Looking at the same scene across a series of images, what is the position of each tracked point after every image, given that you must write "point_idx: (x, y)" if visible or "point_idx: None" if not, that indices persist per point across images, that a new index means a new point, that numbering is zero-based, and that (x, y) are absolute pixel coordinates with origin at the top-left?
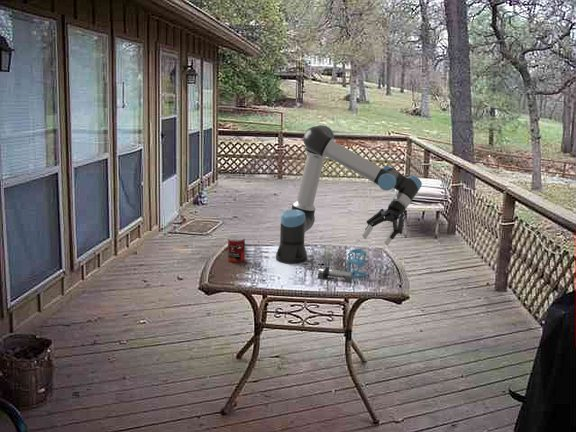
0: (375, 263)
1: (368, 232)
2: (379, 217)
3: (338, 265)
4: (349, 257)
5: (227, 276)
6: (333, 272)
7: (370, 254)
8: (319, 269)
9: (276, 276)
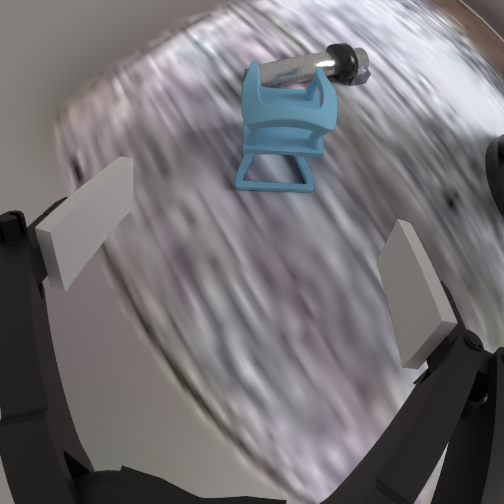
0: (316, 392)
1: (399, 290)
2: (422, 475)
3: None
4: (311, 83)
5: (454, 10)
6: (311, 54)
7: None
8: (359, 48)
9: (418, 33)
